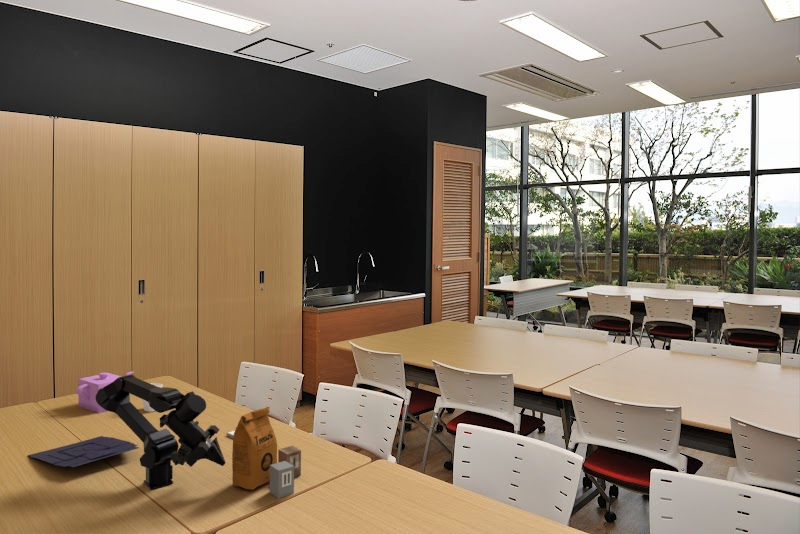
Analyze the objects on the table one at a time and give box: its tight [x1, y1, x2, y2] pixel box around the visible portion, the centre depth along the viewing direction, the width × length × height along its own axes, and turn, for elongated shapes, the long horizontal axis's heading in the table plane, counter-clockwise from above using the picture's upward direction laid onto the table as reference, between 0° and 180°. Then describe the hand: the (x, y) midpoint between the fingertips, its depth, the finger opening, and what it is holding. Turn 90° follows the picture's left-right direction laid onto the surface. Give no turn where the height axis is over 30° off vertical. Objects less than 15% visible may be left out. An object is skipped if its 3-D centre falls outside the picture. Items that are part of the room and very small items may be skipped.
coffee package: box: [231, 406, 278, 491], centre depth 174 cm, size 10×12×22 cm
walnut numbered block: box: [277, 445, 302, 479], centre depth 180 cm, size 5×5×8 cm
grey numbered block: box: [269, 461, 295, 499], centre depth 168 cm, size 5×5×8 cm
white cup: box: [142, 382, 164, 413], centre depth 241 cm, size 8×8×10 cm
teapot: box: [75, 371, 135, 414], centre depth 245 cm, size 15×25×14 cm, turn 147°
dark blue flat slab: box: [27, 435, 140, 468], centre depth 191 cm, size 24×30×4 cm
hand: (224, 464), depth 170 cm, fingers closed
